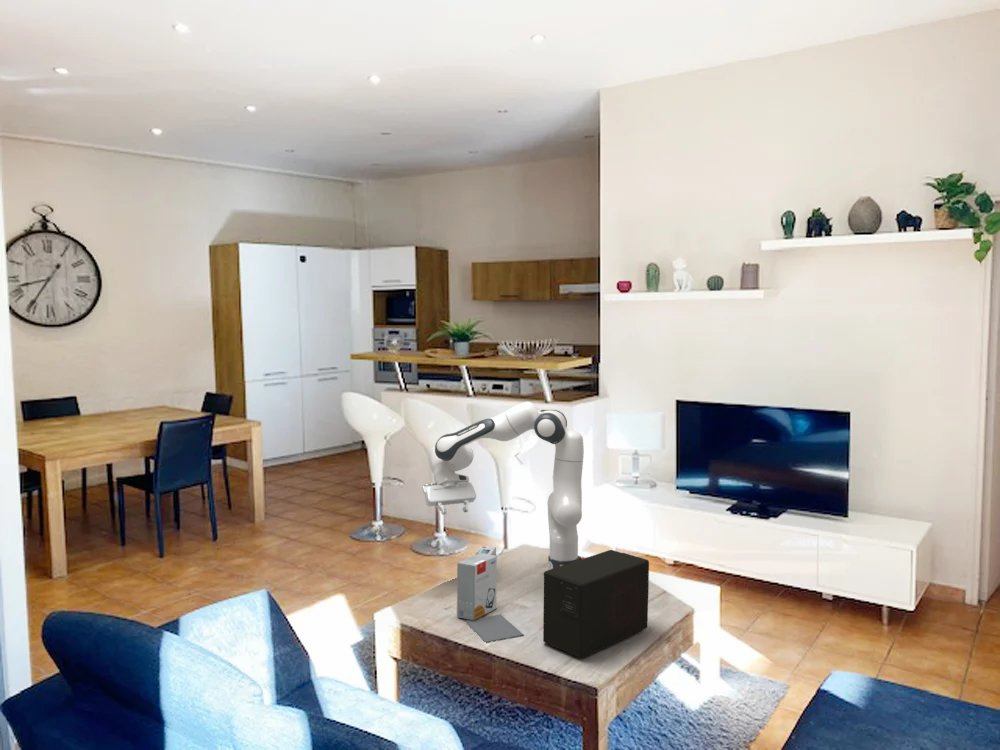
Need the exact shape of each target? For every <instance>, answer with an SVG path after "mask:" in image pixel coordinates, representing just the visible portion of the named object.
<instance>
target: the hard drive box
mask: <svg viewBox="0 0 1000 750" xmlns="http://www.w3.org/2000/svg"><path fill="white" fill-rule="evenodd" d="M497 557H498V556H497V555H496V556H495V555H489V554H484V553H479V554H477V555H476V554H475V555H473V556H469V557H468V558H466V559H465V558H464V559H463V560H461V561H459V562H457V566H456V567H457V568H456V572H457V573H456V575H457V576H456V581H457V582H456V587H457V588H456V617H457V618H461V619H465V620H473V621H474V620H476V619H478V618H482V617H483V616H484V615H487V614H488V613H490V612H492V611H495V610H496V609H497V604H498V603H497V602H498V601H497V599H498V596H497V593H498V591H497V585H498V584H497V582H498V581H497V572H498V571H497V569H498V568H497V561H498V559H497Z"/></svg>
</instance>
